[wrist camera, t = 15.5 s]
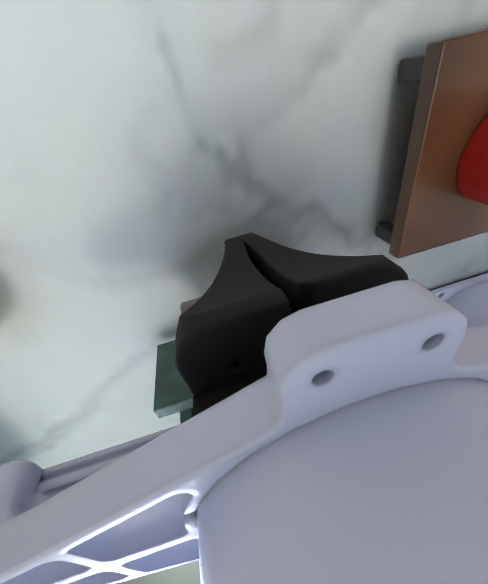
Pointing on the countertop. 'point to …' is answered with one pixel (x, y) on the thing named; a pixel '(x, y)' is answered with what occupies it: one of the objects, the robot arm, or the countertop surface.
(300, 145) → the countertop surface
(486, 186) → the can
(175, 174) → the countertop surface
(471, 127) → the brown square board
